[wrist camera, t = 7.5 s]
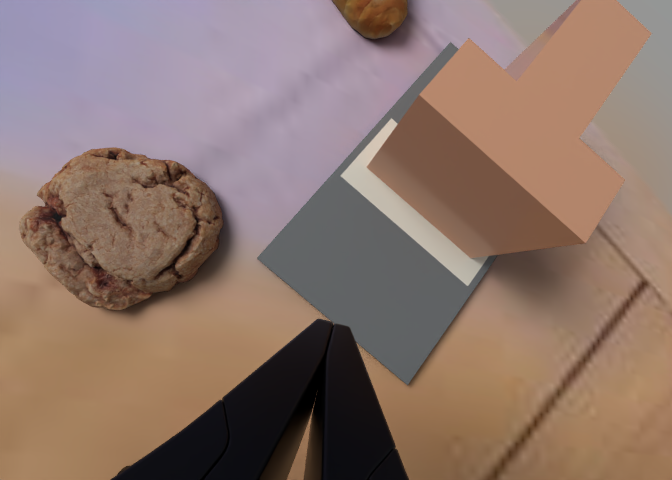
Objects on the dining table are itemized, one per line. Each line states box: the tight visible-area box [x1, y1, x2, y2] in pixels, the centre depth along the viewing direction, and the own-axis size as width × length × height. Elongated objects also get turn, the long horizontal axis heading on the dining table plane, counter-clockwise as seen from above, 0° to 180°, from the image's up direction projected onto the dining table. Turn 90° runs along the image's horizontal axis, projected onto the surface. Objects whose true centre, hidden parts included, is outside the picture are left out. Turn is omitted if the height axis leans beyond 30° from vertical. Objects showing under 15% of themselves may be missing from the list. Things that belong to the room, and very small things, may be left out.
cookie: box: [19, 148, 223, 310], centre depth 19 cm, size 10×11×3 cm
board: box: [257, 42, 498, 385], centre depth 24 cm, size 22×13×1 cm, turn 140°
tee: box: [367, 0, 651, 258], centre depth 20 cm, size 12×10×9 cm
